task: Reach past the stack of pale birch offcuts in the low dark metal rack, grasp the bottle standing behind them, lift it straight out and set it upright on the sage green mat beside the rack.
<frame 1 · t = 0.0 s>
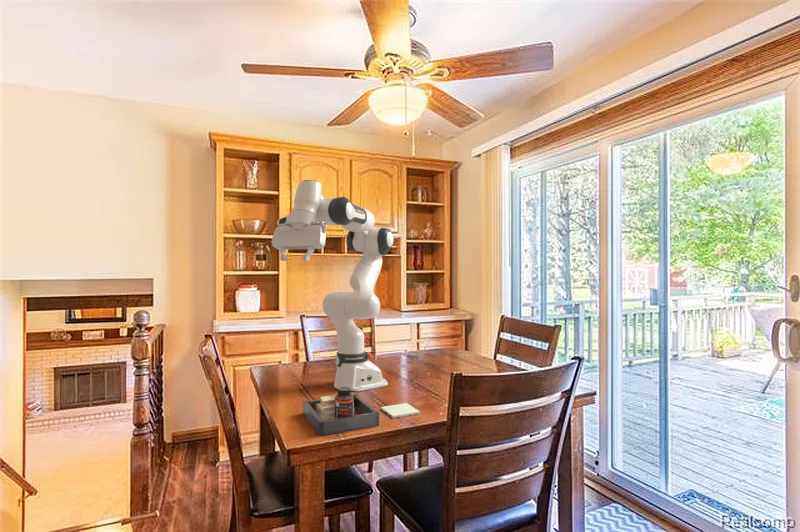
hand: (294, 260, 144), 52 cm above the table, tool tilted 20°, fingers open, 8 cm apart
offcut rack: (339, 419, 140), on the table
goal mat: (400, 411, 147), on the table
offcut stack: (335, 415, 144), resting in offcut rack
supplement bottle: (344, 424, 136), resting in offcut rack
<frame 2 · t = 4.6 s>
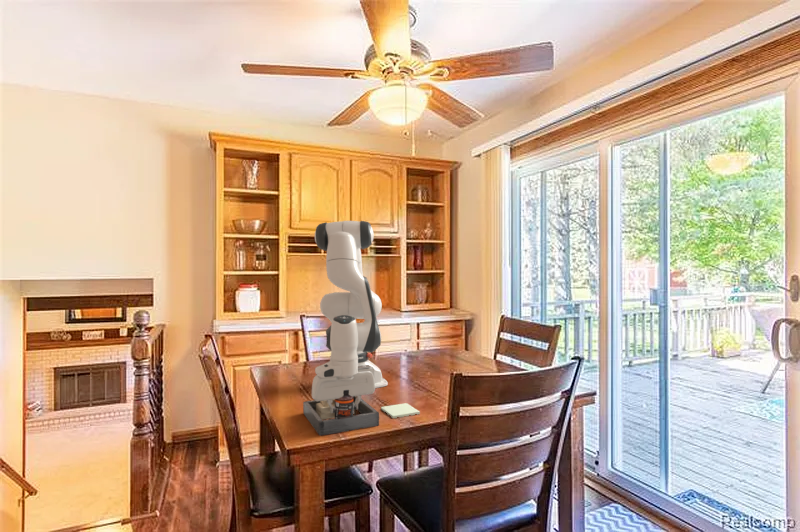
hand: (344, 410, 136), 4 cm above the table, tool pointing down, fingers closed on supplement bottle, 6 cm apart
supplement bottle: (344, 424, 136), resting in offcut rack, touching gripper
everything else where it was.
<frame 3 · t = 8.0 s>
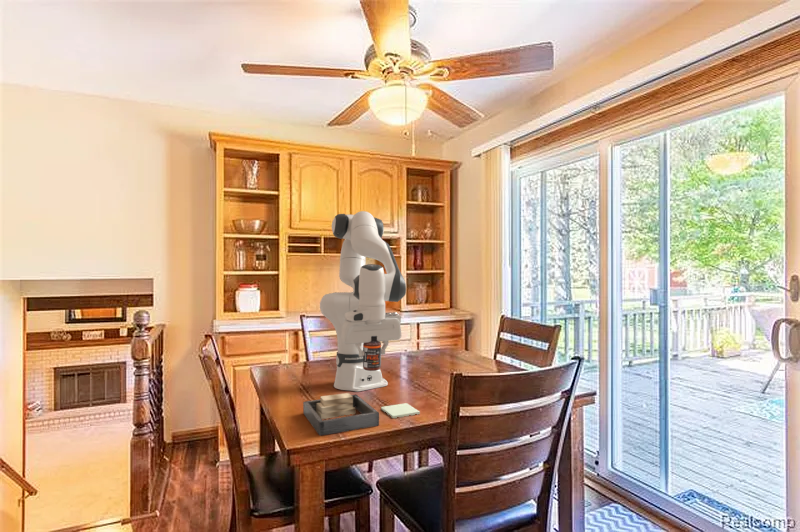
hand: (372, 355, 141), 21 cm above the table, tool pointing down, fingers closed on supplement bottle, 6 cm apart
supplement bottle: (372, 369, 141), point 16 cm above the table, touching gripper
everything else where it was.
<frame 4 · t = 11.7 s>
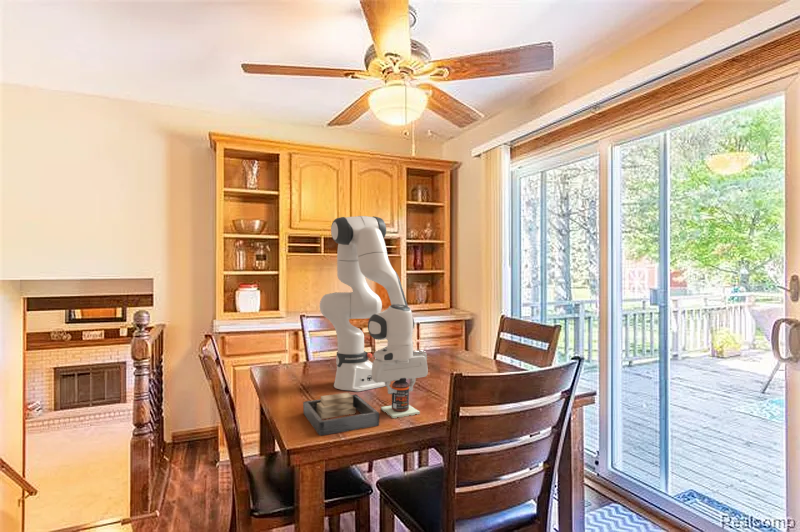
hand: (400, 392, 147), 7 cm above the table, tool pointing down, fingers closed on supplement bottle, 6 cm apart
supplement bottle: (400, 410, 147), point 1 cm above the table, touching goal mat, gripper
everything else where it was.
when the fingers open (7 cm above the table, at t = 12.4 s): supplement bottle stays where it is, resting on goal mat.
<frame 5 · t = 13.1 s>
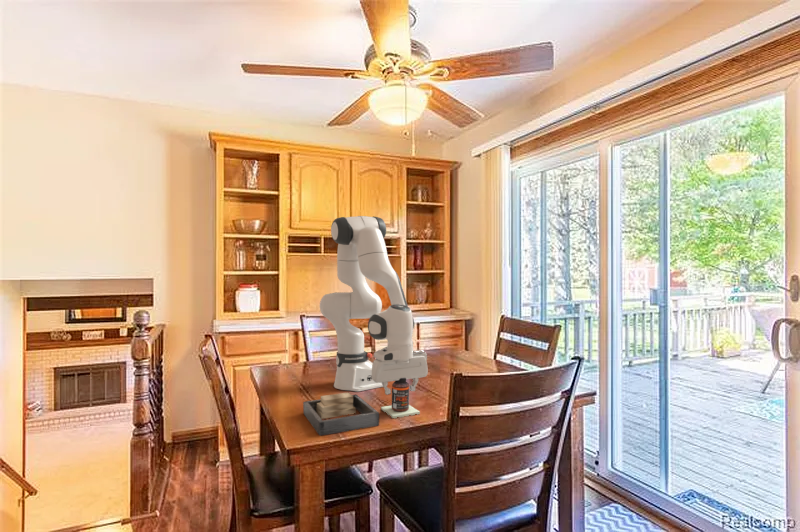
hand: (400, 392, 147), 7 cm above the table, tool pointing down, fingers open, 8 cm apart
supplement bottle: (400, 410, 147), point 1 cm above the table, touching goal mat
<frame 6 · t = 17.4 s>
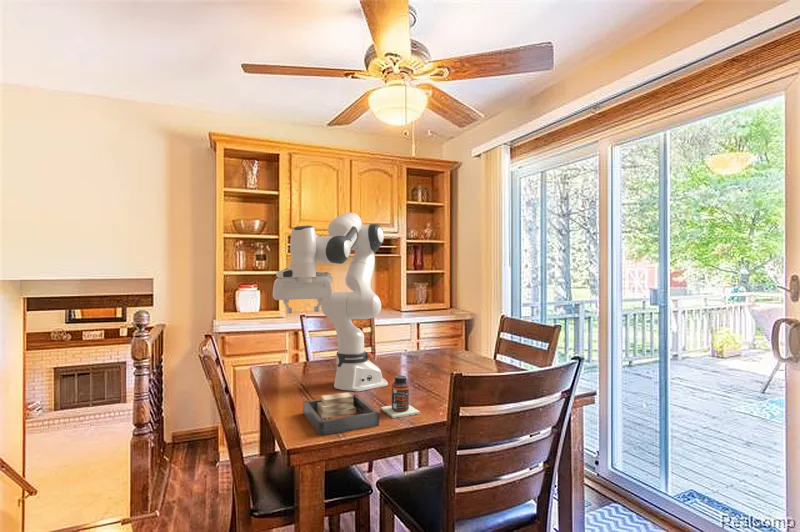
hand: (303, 312, 147), 34 cm above the table, tool pointing down, fingers open, 8 cm apart
at the end: supplement bottle inside the target area on the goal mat (0.2 cm from its centre), point 0.6 cm above the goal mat's base; supplement bottle tilted 0°; the gripper is holding nothing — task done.
